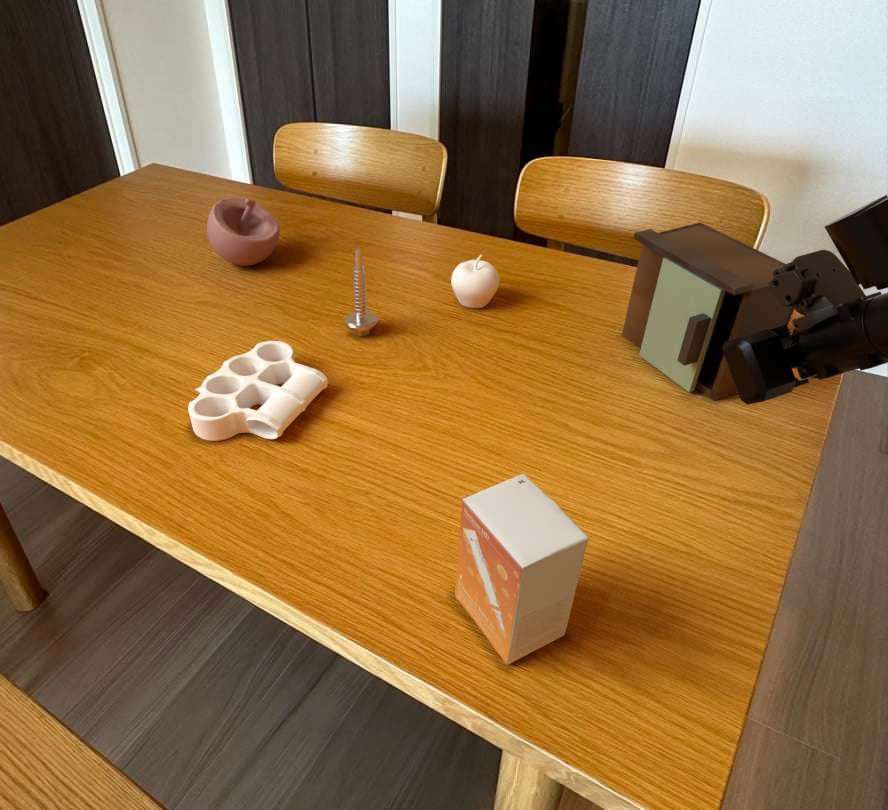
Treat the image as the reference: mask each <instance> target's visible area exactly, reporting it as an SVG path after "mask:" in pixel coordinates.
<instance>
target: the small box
mask: <svg viewBox="0 0 888 810" xmlns="http://www.w3.org/2000/svg"><path fill="white" fill-rule="evenodd" d="M460 511H461V513H460V524H459V536H458V550H457V551H458V552H457V563H456V576H455V585H454V586H455V589H454V597H455V599H456V600H457V602H459V603H460V604H461V606H462V607H463V608H464V610H465V611H466V612H467V614H468V615H469V616H470V617H471V619H472V620H473V621H474V623H475V624H476V625H477V626H478V628H479V629H480V630H481V632H482V633H483V635H484V636H485V638H487V640H488V641H489V643H490V644H491V646H492V647H493V648H494V649H495V651H496V653H497V654H498V655H499V657H500V658H501V659H502V661H503V662H504V663H505V665H507V666H509V665H511V664H513V663H514V662H516V661H518V660H520V659H522V658H524V657H525V656H528V655H529V654H531V653H533V652H535V651H537V650H539V649H541V648H543V647H545V646H547V645H549V644H550V643H552V642H554V641H556V640H558V639H560V638H562V637H564V636H565V635H566V631H567V627H568V623H569V620H570V616H571V612H572V608H573V604H574V600H575V596H576V591H577V587H578V583H579V579H580V575H581V570H582V567H583V563H584V559H585V555H586V551H587V547H588V543H589V539H590V538H589V536H588V535H587V533H585V532H584V530H583V529H581V527H580V526H578V525H577V524H576V522H574V520H572V519H571V518H570V517H569V515H568V514H566V513H565V511H564V510H563V509H562V508H561V507H560V506H559V504H557V502H555V501H554V499H552V498H551V497H550V496H548V494H547V493H545V492H544V491H543V490H542V489H541V488H540V487H539V486H537V485H536V483H535V482H533V481H532V480H531V479H530V478H529V476H527V474H525V473H520V474H519V475H517V476H514V477H511V478H509V479H506V480H504V481H501V482H499V483H496V484H494V485H492V486H490V487H488V488H485V489H483V490H480V491H479V492H475V493H474V494H471V495H469V496H467V497H465V498H462V500H461V510H460Z"/></svg>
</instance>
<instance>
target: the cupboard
mask: <svg viewBox="0 0 888 810" xmlns="http://www.w3.org/2000/svg"><path fill="white" fill-rule="evenodd" d="M633 239H634V240H635V241H637V242H639V243H640V244H641V248H640V251H639V257H638V261H637V264H636V265H637V266H636V269H635V275H634V279H633V284H632V288H631V292H630V297H629V301H628V305H627V310H626V314H625V319H624V323H623V328H622V333H621V336H623V338H625V339H626V340H628V341H629V342H631V343H632V344H633V345H634V346H636V347H638V348H639V349H640V350H641V346H642V342H643V338H644V334H645V330H646V326H647V322H648V318H649V314H650V309H651V305H652V301H653V297H654V293H655V289H656V285H657V281H658V277H659V273H660V269H661V265H662V261H663V258H665V257H667V258H669V259H671V260H672V261H674V262H676V263H678V264H679V265H681V266H683V267H685V268H687V269H688V270H690V271H692V272H694V273H695V274H697V275H699V276H701V277H702V278H704V279H706V280H708V281H710V282H711V283H713V284H715V285H717V286H718V287H720V288H722V289H724V290H726V292H725V295H724V298H723V301H722V304H721V307H720V310H719V314H718V317H717V320H716V323H715V326H714V329H713V332H712V336H711V339H710V342H709V345H708V348H707V351H706V354H705V358H704V361H703V364H702V367H701V370H700V373H699V376H698V380H697V383H696V386H695V389H696V390H698V391H699V392H701V393H703V394H704V395H705V396H706V397H708V398H709V399H710V400H712V401H714V402H715V401H718V400H720V399H723V398H727V397H729V396H733V395H736V394H738V391H737V389H736V386H735V383H734V381H733V378H732V375H731V373H730V370H729V367H728V365H727V362H726V359H725V357H724V354H723V351H722V347H723V345H724V342H727V341H730V340H732V339H735V338H738V337H741V336H745V335H748V334H751V333H755V332H758V331H761V330H764V329H773V328H776V327H779V326H783V325H786V324H787V325H788V326H789V325H790V322H791V320H792V317H793V314H794V311H795V309H794V308H793V307H792V306H790V307H784V306H782V305H781V304H780V302H779V301H778V300H777V299H776V297H775V296H774V295H773V294H772V292H771V291H770V289H769V283H770V282H771V281H772V280H773V279H774V276H773V271H774V270H775V269H778V268H782V267H784V266H785V265H786V264H787V263H785V262H783V261H781V260H779V259H777V258H775V257H773V256H770V255H768V254H767V253H765V252H762V251H760V250H758V249H756V248H754V247H752V246H750V245H748V244H746V243H744V242H742V241H740V240H737V239H736V238H733V237H731V236H729V235H727V234H725V233H723V232H721V231H719V230H718V229H715V228H713V227H711V226H709V225H707V224H705V223H703V222H696V223H692V224H688V225H683V226H681V227H676V228H671V229H668V230H663V231H660V232H657V231H656V230H653V229H651V228H648V229H645V230H641V231H636V232H634V235H633Z"/></svg>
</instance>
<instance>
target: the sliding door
mask: <svg viewBox="0 0 888 810" xmlns="http://www.w3.org/2000/svg"><path fill="white" fill-rule="evenodd" d="M725 292H726V290H724V289H722V288H720V287H718V286H717V285H715V284H713V283H711V282H710V281H708V280H706V279H704V278H702V277H701V276H699V275H697V274H695V273H694V272H692V271H690V270H688V269H687V268H685V267H683V266H681V265H679V264H678V263H676V262H674V261H672V260H671V259H669V258H667V257H665V258H663V261H662V265H661V269H660V273H659V277H658V281H657V285H656V289H655V293H654V297H653V301H652V305H651V309H650V314H649V318H648V322H647V326H646V330H645V334H644V338H643V342H642V346H641V349H640V351H639V353H638V355H639V357H641V358H642V359H643V360H645V361H646V362H647V363H649V364H650V365H652V366H653V367H654V368H655V369H657V370H658V371H659V372H661V373H663V375H665V376H666V377H667V378H669V379H671V380H672V381H673V382H674V383H676V385H678V386H679V387H681V388H682V389H684V390H685V391H687V392H688V393H691V392H694V391H695V389H696V387H695V386H696V383H697V380H698V376H699V373H700V370H701V367H702V364H703V361H704V358H705V354H706V351H707V348H708V345H709V342H710V339H711V336H712V332H713V329H714V326H715V323H716V320H717V317H718V314H719V310H720V307H721V304H722V301H723V298H724V295H725Z"/></svg>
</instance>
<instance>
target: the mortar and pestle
mask: <svg viewBox="0 0 888 810" xmlns="http://www.w3.org/2000/svg"><path fill="white" fill-rule="evenodd" d="M206 231H207V238H208V241H209V243H210V246H211V247H212V249H213V250H214V252H215V253H216V254H217V255H218V256H219V257H220V258H221V259H223V260H224V261H226V262H228V263H230V264H231V265H235V266H241V267H249V266H254V265H257V264H259V263H261V262H263V261H265V260H266V259H267V258H268V257H269V256H270V255H272V253H273V252H274V250H275V249H276V247H277V245H278V242H279V238H280V223H279V222H278V220H277V219H276V218H275V217H274V215H273V214H272V213H270V212H269V211H268V210H267V209H266V208H264V207H263V206H261V205H259V204H257V203H256V200H255V199H253V198H247V197H245V198H241V197H227V198H222V199H219V200H218V201H217V202H216V203H215V204H213V206H212V208H211V210H210V212H209V214H208V218H207V222H206Z"/></svg>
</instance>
